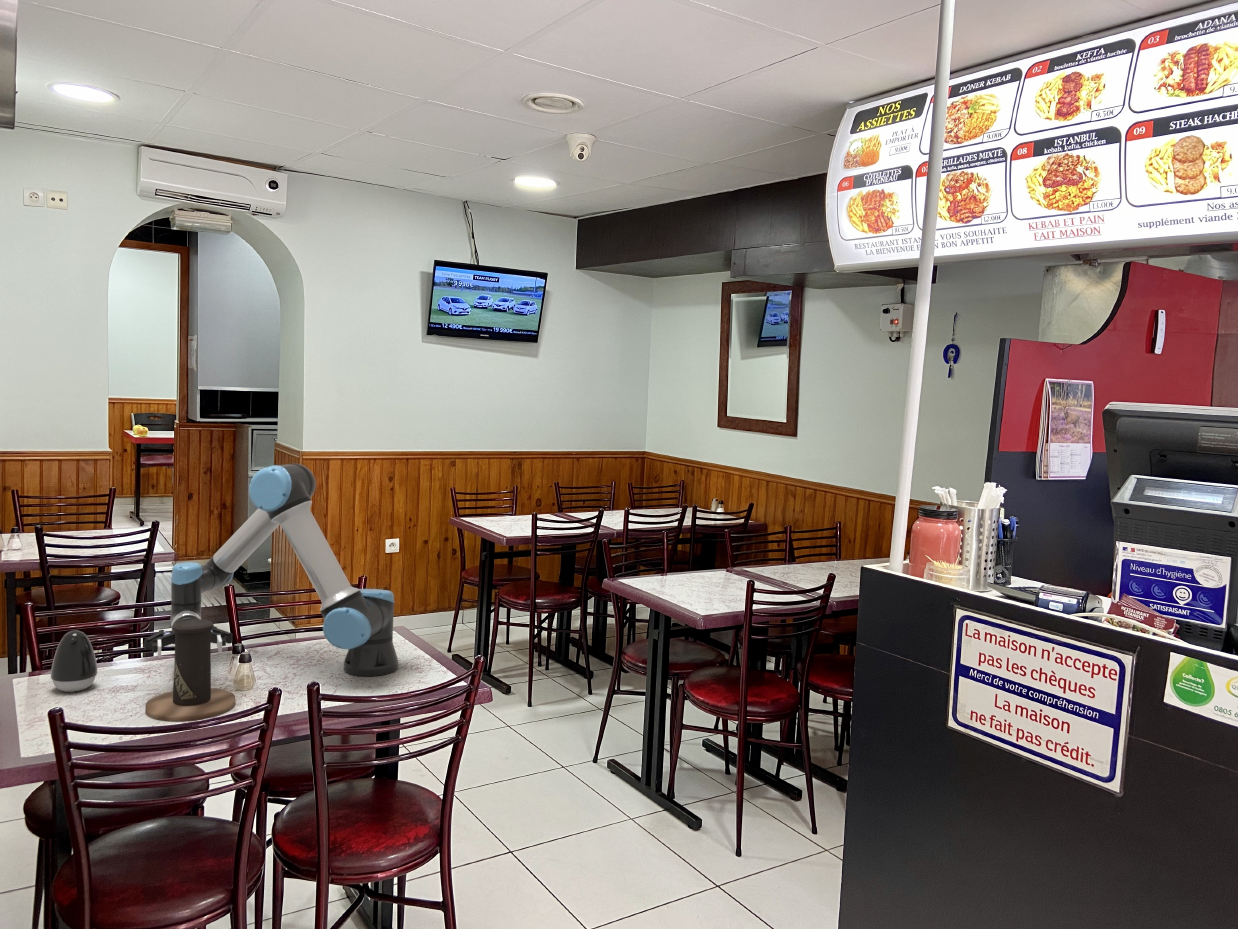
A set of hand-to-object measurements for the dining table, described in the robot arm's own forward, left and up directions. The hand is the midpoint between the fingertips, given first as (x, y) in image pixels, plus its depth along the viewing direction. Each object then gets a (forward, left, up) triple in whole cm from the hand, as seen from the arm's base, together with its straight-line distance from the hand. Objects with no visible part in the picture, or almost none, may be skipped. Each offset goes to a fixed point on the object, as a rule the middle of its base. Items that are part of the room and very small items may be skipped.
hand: (190, 649), depth 219 cm
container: (-2, +1, -13) cm, 13 cm away
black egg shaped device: (+34, -2, -14) cm, 36 cm away
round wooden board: (-1, +2, -14) cm, 14 cm away
